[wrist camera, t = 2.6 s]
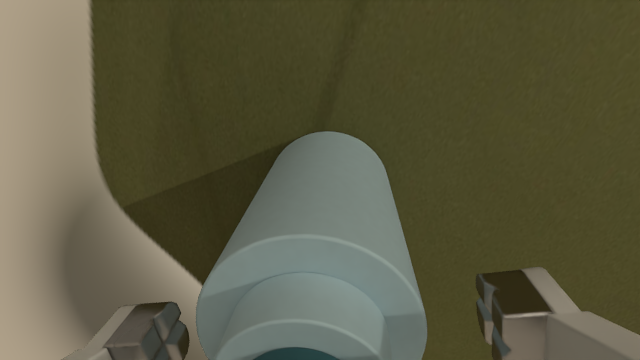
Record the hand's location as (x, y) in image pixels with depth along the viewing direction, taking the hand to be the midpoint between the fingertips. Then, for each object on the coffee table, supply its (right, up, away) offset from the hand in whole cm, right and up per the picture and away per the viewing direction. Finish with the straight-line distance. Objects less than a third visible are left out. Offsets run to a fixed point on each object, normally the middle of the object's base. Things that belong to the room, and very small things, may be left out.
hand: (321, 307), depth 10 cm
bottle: (0, +3, +7) cm, 8 cm away
